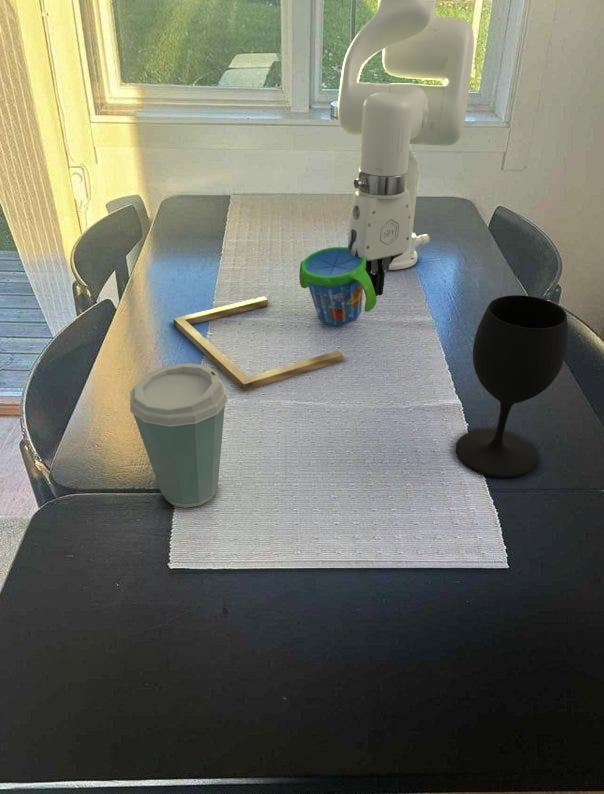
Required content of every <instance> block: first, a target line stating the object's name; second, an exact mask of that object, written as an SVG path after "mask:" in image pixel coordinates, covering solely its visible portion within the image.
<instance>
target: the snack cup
mask: <svg viewBox="0 0 604 794" xmlns="http://www.w3.org/2000/svg"><path fill="white" fill-rule="evenodd" d="M349 250H352V248H351V249H349ZM350 254H351V251H350V252H349V251H348V246H333V247H328V248H324V249H320V250H317V251H315V252H313V253H311V254H309V255H308V256H307V257H305V258H304V259H303V260H301V262H300V264H299V276H298V278H299V284H300V287H301V288H302V289H307V288H308V289H309V290H308V291H309V293H310V296H311V299H312V303H313V305H314V309H315V312H316V315H317V318H318V320H319V322H322V323H323V324H326V325H330V326H331V325H332V326H334V327H338V326H343V325H347V324H349V323H353V322H355V321H357V320H358V318H359V317H360V315H361V313H362V309H363V307H362V306H363V295H364V296H365V303H364V312H365V313H368V312H371V310H373V308H375V306H376V305H377V296H376V294H375V291H374V288H373V285H372V282H371V279H370V277H369V275H368V273H367V272H366V271H365V269H366V259H365V258H363V259H362V258H360V257H359V256H358V255H357V256H356V257H355V258H353V257H352V256H350ZM363 293H364V294H363Z"/></svg>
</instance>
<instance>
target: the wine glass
mask: <svg viewBox="0 0 604 794" xmlns="http://www.w3.org/2000/svg"><path fill="white" fill-rule="evenodd" d="M568 326H569V325H568V315H567V312H566V311H565V309H563V307H561V306H560V305H558V304H556V303H554V302H553V301H550V300H548V299H544V298H541V297H536V296H531V295H521V294H513V295H504V296H501V297H497V298H494V299H493V300H491V301H490V302H489V304H488V306H487V308H486V309H485V311H484V313H483V315H482V317H481V319H480V322H479V324H478V326H477V330H476V333H475V336H474V341H473V346H472V363H473V364H472V365H473V368H474V373H475V375H476V377H477V379H478V381H479V382H480V384H481V385H482V387H483V388H484V389H485V390H486V391H487V393H488V394H490V395H491V397H493V398H494V399H496V400H497V401H499V405H500V406H499V415H498V421H497V426H496V429H489V428H486V429H485V428H484V429H476V430H472V431H469V432H467V433H465V434H463V435H461V437H459V439H458V440H457V442H456V443H455V449H454V450H455V455H456V457H457V459H458V460H459V462H460V463H461V464H462V465H463V466H465V467H466V468H467V469H469V470H471V471H472V472H475V473H476V474H478V475H482V476H486V477H489V478H494V479H513V478H518V477H521V476H524V475H526V474H528V473H530V472H531V471H532V470H533V468H534V466H535V464H536V461H537V456H536V452H535V450H534V448H533V447H532V446H531V445H530V443H528V442H527V441H526V440H525V439H523V438H521V437H519V436H518V435H516V434H513V433H511V432H508V431H505V430H506V425H507V422H508V418H509V414H510V412H511V409H512V407H513V406H514V404H515V405H516V404H519V403H522V402H525V401H528V400H530V399H532V398H535V397H537V396H539V395H540V394H542V393H543V392H544V391H545V390H546V389H548V388H549V387H550V386H551V385H552V384H553V382H554V381H555V380H556V378H557V377H558V375H559V374H560V371H561V369H562V367H563V365H564V361H565V357H566V354H567V350H568V349H567V348H568V342H569V341H568V339H569V327H568Z"/></svg>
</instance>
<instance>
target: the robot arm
mask: <svg viewBox="0 0 604 794" xmlns="http://www.w3.org/2000/svg"><path fill="white" fill-rule="evenodd" d="M436 5H437V0H378V1H377V7H376V8H377V9H376V12H375V14H374V15H373V16H372V17H371V18H370V19H369V20H368V21H367V22H366V23H365V24H364V25H363V26H362V28H361V29H360V30H359V31H358V32H357V34H356V35H355V37H354V38H353V40H352V41H351V42H350V43H351V44H350V45H349V46H348V49H347V51H346V54H345V57H344V60H343V63H342V68H341V75H340V83H339V92H338V99H337V100H338V101H337V120H338V125H339V127H340V129H341V131H343V132H344V133H346V134H348V135H351V136H359V137H360V148H359V149H360V151H359V165H358V167H359V168H358V178H355V179H354V180H353V187H354V189H357V191H354V196H353V200H352V205H351V210H350V214H349V223H348V230H347V231H348V232H347V247H348V251H349V252H350V251H351V254H350V256H352V257H353V258H355V257H356V256H357V255H358V256H359V257H360V258H362V259H363V258H365V259H366V269H365V271H366V272H367V273H368V275H369V277H370V279H371V282H372V285H373V288H374V291H375V294H376V297H378V296H383V294H384V287H385V277H386V273H387V272H388V271H396V270H398V271H399V270H403V269H404V270H405V269H408V268H410V267H412V266H414V265H415V264H417V262H418V259H419V258H418V257H419V256H418V255H419V254H418V252H417V251H416V249H417V248H418V247H419V246H423V245H427V244H429V243H430V241H431V239H430V236H429V234H428V233H425V234H420V235H418V236H417V233H415V232H413V231H414V223H415V214H416V213H415V212H416V203H417V196H418V186H419V177H420V167H419V163H418V161H417V158H416V157H415V155H414V153H413V152H412V150H411V148H410V146H411V145H424V146H425V145H427V146H439V147H441V146H453V145H455V144H456V143H457V142H459V141H460V139H461V137H462V135H463V132H464V127H465V124H466V115H467V109H468V108H467V107H468V101H469V100H468V99H469V93H470V92H469V91H470V83H471V76H472V68H473V59H474V51H475V49H474V48H475V36H474V29H473V27H472V24H471V23H470V22H469V21H468V20H466V19H464V18H461V17H454V16H437V15H436V7H437V6H436ZM381 51H382V65H383V69H384V71H385V72H386V73H387V74H388V75H389V76H392V77H395V78H403V79H415V80H416V79H417V80H430V81H432V80H433V81H440V82H441V84H443V85H438V84H437V85H435V84H434V85H433V84H422V83H407V82H406V83H405V82H404V83H402V82H392V83H378V82H377V83H375V82H360V77H361V73H362V70H363V68H364V67H365V65H367V63H368V61H369V60H371V59H372V57H374V56H375V55H377V54H378V53H379V52H381ZM351 248H352V250H349V249H351Z"/></svg>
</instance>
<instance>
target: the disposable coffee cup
mask: <svg viewBox="0 0 604 794" xmlns="http://www.w3.org/2000/svg"><path fill="white" fill-rule="evenodd" d="M129 392H130V393H129V394H130V395H129V396H130V397H129V406H130V407H129V408H130V413H132V415H133V417H134V420H135V423H136V426H137V429H138V431H139V434H140V437H141V440H142V442H143V446H144V449H145V451H146V454H147V457H148V459H149V463H150V465H151V468H152V471H153V474H154V476H155V477H154V478H155V480H156V482H157V485H158V488H159V491H160V494H161V495H162V496H163V497H164V499H165V500H166V501H167V502H168V503H169V504H170V505H172V506H176V507H180V508H184V509H185V508H186V509H187V508H193V507H200V506H202V505H203V504H205V503H208V502H209V501H211V500H212V498H213V497H214V495H216V493H217V489H218V488H219V479H220V468H221V467H220V466H221V455H222V444H223V443H222V442H223V431H224V430H223V429H224V419H225V410H226V409H225V408H226V405H227V403H228V402H229V400H228V396H227V392H226V389H225V385H224V382H222V380H221V379H220V375H219V374H218V372H217V371H216V370H214V369H213V368H211V367H209V366H207V365H206V364H201V363H190V362H189V363H187V362H182V363H178V364H172V365H167V366H162V367H160V368H158V369H157V370H154V371H151V372H149V373H147V374H144V376H143V377H142V378H141V379H140V380H139V381H138V382H137V383H136V384H135V385H134V386H133V388H132V389H131V390H130V391H129Z"/></svg>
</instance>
